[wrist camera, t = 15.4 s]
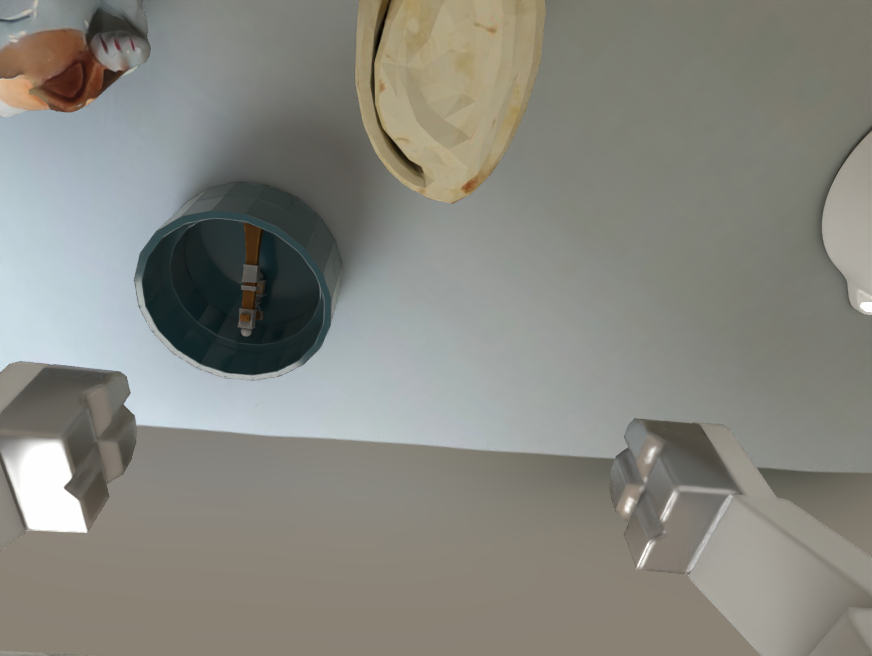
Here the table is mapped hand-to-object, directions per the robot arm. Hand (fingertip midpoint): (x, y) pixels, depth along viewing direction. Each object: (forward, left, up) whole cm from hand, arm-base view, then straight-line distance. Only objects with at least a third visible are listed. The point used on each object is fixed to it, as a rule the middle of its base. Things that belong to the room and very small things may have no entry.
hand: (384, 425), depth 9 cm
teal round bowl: (+10, +13, -31) cm, 35 cm away
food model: (-1, -4, -31) cm, 32 cm away
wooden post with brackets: (+9, +13, -31) cm, 35 cm away
